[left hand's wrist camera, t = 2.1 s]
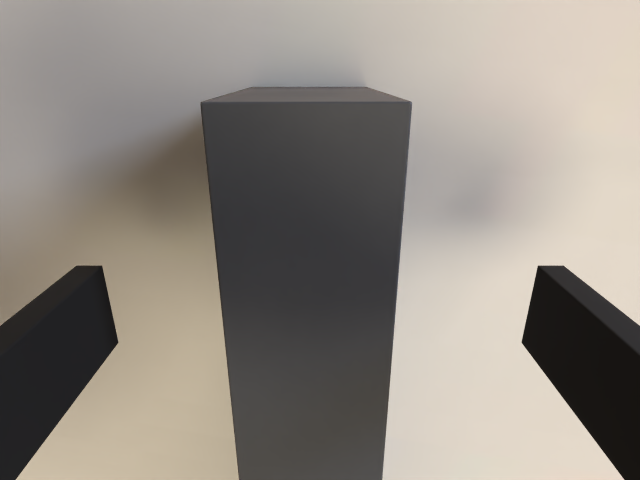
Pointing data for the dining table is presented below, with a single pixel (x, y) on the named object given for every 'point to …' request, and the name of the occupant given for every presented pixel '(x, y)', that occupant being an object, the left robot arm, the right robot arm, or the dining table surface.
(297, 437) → the bar
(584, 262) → the dining table surface
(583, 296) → the left robot arm
